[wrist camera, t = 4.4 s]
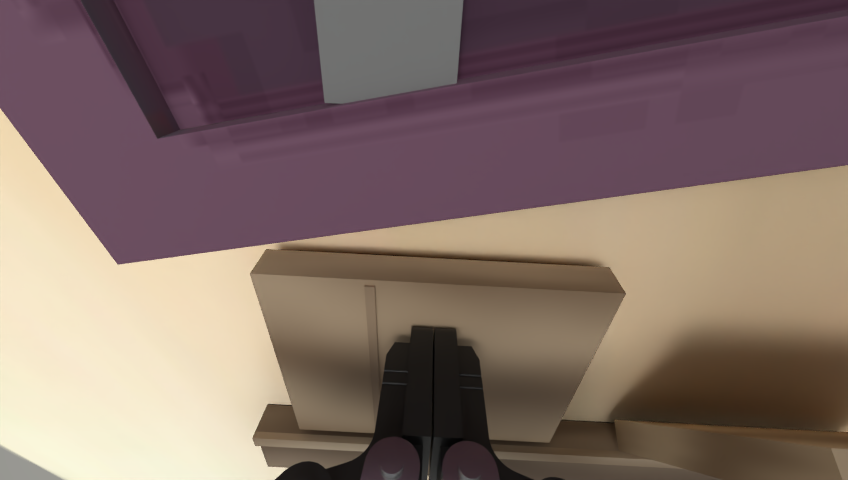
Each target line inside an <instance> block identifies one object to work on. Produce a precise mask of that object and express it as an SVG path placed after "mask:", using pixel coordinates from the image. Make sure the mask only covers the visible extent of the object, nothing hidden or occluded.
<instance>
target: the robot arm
mask: <svg viewBox="0 0 848 480" xmlns="http://www.w3.org/2000/svg"><path fill="white" fill-rule="evenodd" d="M429 455H430V456H429ZM428 465H429V480H534V479H531V478H529V477H527V476H524V475H522V474H519V473H517V472H515V471H513V470H511V469H510V468H508V467H507V466H505V465H504V464H503V463H502V462H501V461H500V460H499V459H498V457H497V456H496V454H495V453H494V451H493V449H492V447H491V444H490V440H489V433H488V425H487V416H486V408H485V400H484V392H483V384H482V378H481V367H480V360H479V358H478V356H477V355H476V353H475V351H474V349H473V348H472V346H458V345H457V331H456V329H449V328H435V329H434V340H433V328H429V327H412V328H411V339H410V343H403V342H394V344H393V345H392V347H391V348H390V350H389V351H388V353H387V354H386V361H385V367H384V374H383V380H382V387H381V393H380V400H379V406H378V413H377V419H376V426H375V432H374V436H373V439H372V441H371V443H370V445H369V446H368V448H367V449H366V450H365V451H364V452H363V453H362V454H361V455H360V456H358V457H357V458H355V459H353V460H352V461H349V462H346V463H343V464H340V465H337V466H333V467H330V468H327V469H325V468H324V467H323V466H322V465H320V464H319V463H316V462H312V461H304V462H300V463H297V464H295V465H293V466H291V467H289V468H288V469H287V470H285V471H284V472H283V473H282V474H281V475H280V476H279V477H277V478H276V479H275V480H427V474H428ZM542 480H565V479H562V478H558V477H548V478H544V479H542Z"/></svg>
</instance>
